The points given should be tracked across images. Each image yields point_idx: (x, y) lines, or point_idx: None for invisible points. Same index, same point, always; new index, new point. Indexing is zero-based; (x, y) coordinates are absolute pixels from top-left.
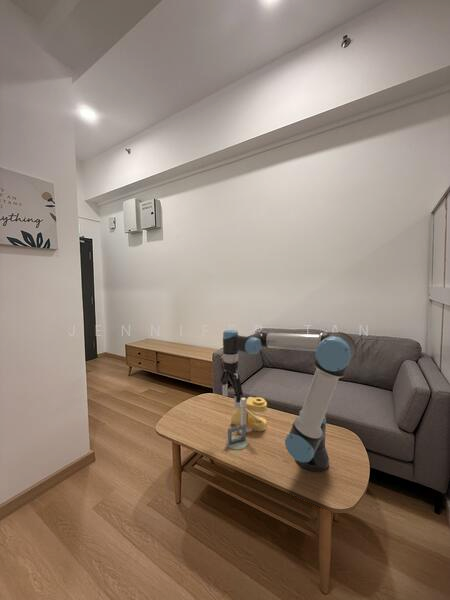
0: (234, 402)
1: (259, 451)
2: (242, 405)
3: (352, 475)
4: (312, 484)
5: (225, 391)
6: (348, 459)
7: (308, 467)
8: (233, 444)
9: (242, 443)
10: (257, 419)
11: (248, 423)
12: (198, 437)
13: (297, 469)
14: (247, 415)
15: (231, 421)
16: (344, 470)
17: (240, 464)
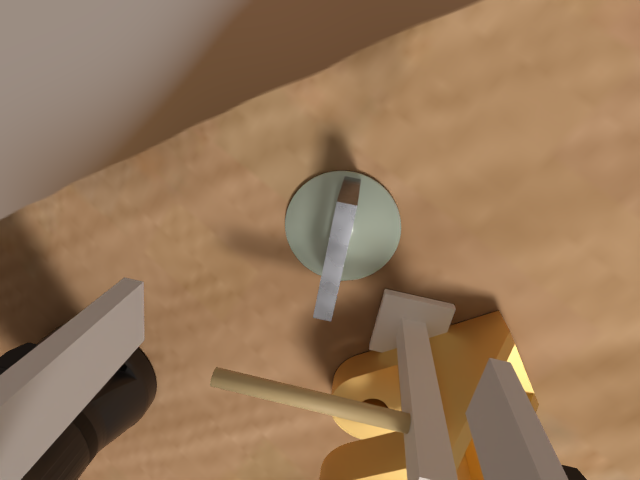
0: (92, 326)
1: (230, 266)
2: (420, 432)
3: None
4: (8, 283)
5: (501, 457)
6: None
7: (55, 331)
8: (336, 200)
9: (314, 242)
10: (225, 382)
11: (395, 363)
12: (550, 64)
13: (80, 301)
14: None
15: (501, 319)
16: None
17: (203, 137)
